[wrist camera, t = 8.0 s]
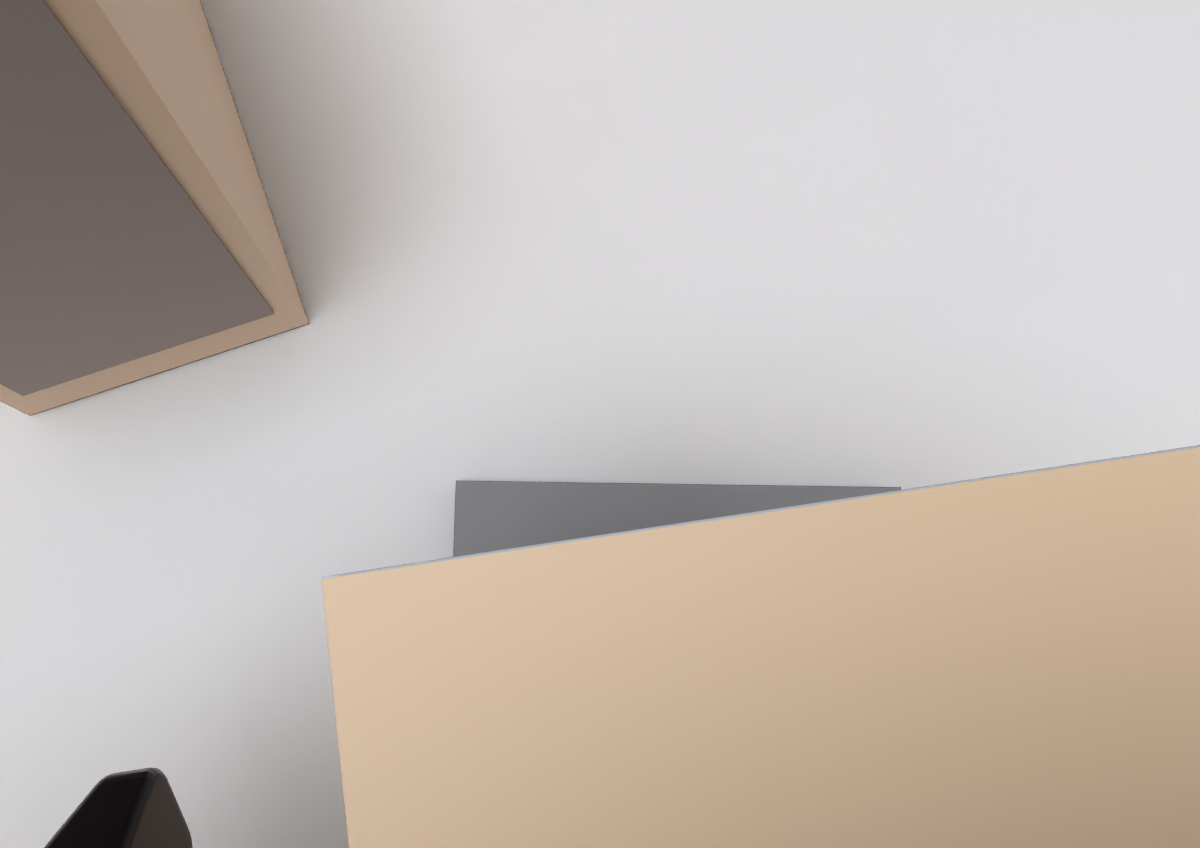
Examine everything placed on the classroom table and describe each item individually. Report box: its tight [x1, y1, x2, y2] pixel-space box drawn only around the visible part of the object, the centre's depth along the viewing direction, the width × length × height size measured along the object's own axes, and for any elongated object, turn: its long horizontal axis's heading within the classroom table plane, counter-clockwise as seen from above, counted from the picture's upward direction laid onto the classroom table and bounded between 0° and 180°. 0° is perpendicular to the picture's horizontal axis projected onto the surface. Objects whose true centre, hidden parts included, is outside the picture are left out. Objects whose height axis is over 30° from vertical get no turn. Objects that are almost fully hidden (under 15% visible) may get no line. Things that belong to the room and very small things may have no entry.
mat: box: [453, 481, 901, 557], centre depth 16 cm, size 9×7×1 cm
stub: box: [322, 445, 1200, 848], centre depth 10 cm, size 4×5×12 cm
